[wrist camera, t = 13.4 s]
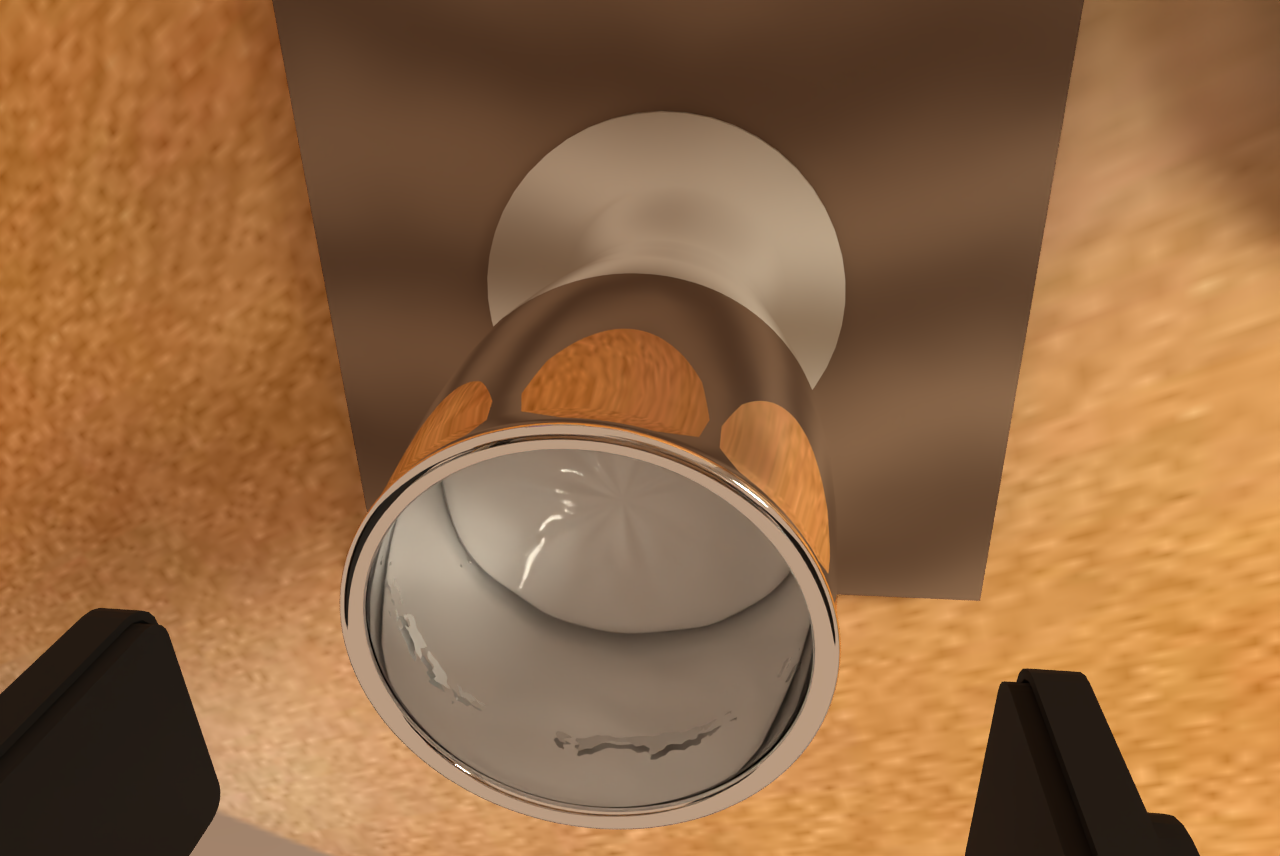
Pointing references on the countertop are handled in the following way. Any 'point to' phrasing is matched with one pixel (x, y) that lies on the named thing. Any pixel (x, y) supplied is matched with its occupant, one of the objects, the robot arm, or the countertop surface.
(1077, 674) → the robot arm
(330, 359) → the countertop surface
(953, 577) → the coaster board
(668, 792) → the shiny metal tumbler
